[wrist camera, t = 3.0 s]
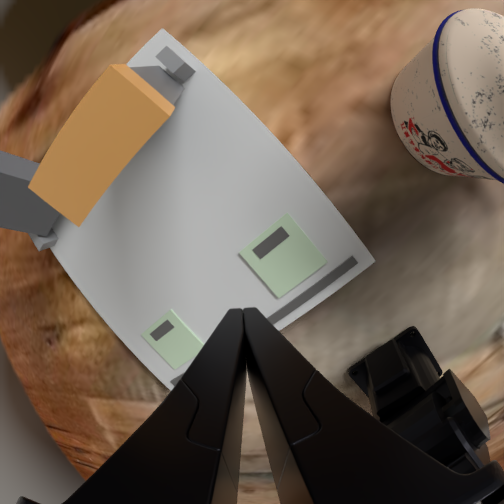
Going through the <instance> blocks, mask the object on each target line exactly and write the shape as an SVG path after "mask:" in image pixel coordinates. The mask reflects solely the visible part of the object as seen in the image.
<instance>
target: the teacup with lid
mask: <svg viewBox="0 0 504 504" xmlns="http://www.w3.org/2000/svg"><path fill="white" fill-rule="evenodd" d="M391 113H392V118H393V122H394V125H395V128H396V131H397V133H398V135H399V137H400V139H401V141H402V142H403V144H404V146H405V147H406V148H407V150H408V151H409V152H410V153H411V154H412V156H413V157H414V158H415V159H416V160H417V161H419V162H420V163H421V164H422V165H424V166H425V167H427V168H429V169H430V170H432V171H435V172H437V173H440V174H443V175H449V176H461V177H472V178H482V179H492V180H498V181H500V182H502V183H504V16H502V15H500V14H497V13H495V12H492V11H488V10H484V9H466V10H460V11H457V12H454V13H452V14H451V15H449V16H448V17H447V18H446V19H444V20H443V22H442V23H441V24H440V26H439V28H438V30H437V32H436V35H435V37H434V38H433V39H432V40H431V41H430V42H429V43H428V44H427V45H426V46H425V47H424V48H423V49H422V50H421V51H420V52H419V53H418V54H417V55H416V56H415V57H414V58H413V59H412V60H411V61H410V62H409V63H408V64H407V65H406V66H405V67H404V68H403V69H402V70H401V72H400V73H399V74H398V76H397V78H396V80H395V82H394V84H393V88H392V92H391Z"/></svg>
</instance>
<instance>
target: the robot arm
mask: <svg viewBox="0 0 504 504" xmlns="http://www.w3.org/2000/svg"><path fill="white" fill-rule="evenodd" d="M411 332H414V333H413V334H412V335H410V333H411ZM246 364H247V368H246ZM353 371H357V372H355V373H354V372H353ZM247 372H248V378H249V382H250V386H251V390H252V394H253V399H254V403H255V407H256V411H257V415H258V419H259V423H260V427H261V431H262V435H263V439H264V443H265V447H266V451H267V454H268V458H269V462H270V466H271V470H272V473H273V477H274V481H275V484H276V488H277V492H278V496H279V500H280V504H504V471H503V469H502V467H501V466H500V465H499V463H498V462H497V461H496V460H493V461H491V462H490V457H489V451H488V447H487V445H486V442H487V441H488V440H490V432H489V426H488V420H487V417H486V415H485V413H484V411H483V410H482V408H481V406H480V405H479V403H478V402H477V400H476V398H475V397H474V396H473V394H472V393H471V392H470V391H469V390H468V389H467V388H466V386H465V385H464V384H463V383H462V382H461V381H460V380H459V379H458V377H457V376H456V375H455V374H454V373H453V372H452V371H451V370H450V369H448V370H447V371H446V372H445V373H444V374H443V375H444V376H443V377H441V378H439V377H440V376H441V375H442V370H441V368H440V366H439V364H438V363H437V361H436V359H435V358H434V356H433V354H432V352H431V351H430V349H429V347H428V346H427V344H426V343H425V341H424V339H423V338H422V336H421V334H420V333H419V331H418V330H417V328H416V327H414V326H412V327H409V328H408V329H406V330H405V331H404V332H402V333H401V334H399V335H398V336H397V337H395V338H394V339H392V340H390V341H389V342H387V343H386V344H384V345H383V346H381V347H380V348H378V349H377V350H375V351H374V352H372V353H371V354H369V355H368V356H366V358H364V359H362V360H361V361H359V362H358V363H356V364H354V365H353V366H351V367H350V368H349V371H348V372H349V376H350V377H351V378H352V379H353V380H354V381H355V383H356V384H357V385H358V386H359V387H360V388H361V389H362V390H363V392H364V393H365V394H366V395H367V396H368V397H369V400H370V404H371V409H372V414H373V416H372V415H370V414H369V413H367V412H366V411H365V410H363V409H362V408H361V407H359V406H358V405H357V404H355V403H354V402H353V401H351V400H350V399H349V398H348V397H346V396H345V395H344V394H343V393H341V392H340V391H339V390H338V389H337V388H335V387H334V386H333V385H332V384H331V383H330V382H329V381H328V380H327V379H326V378H325V377H324V376H323V375H322V374H321V373H320V372H319V371H318V370H316V369H315V368H314V367H313V366H312V365H311V364H310V363H309V362H308V361H307V360H306V359H305V358H304V357H303V356H302V354H301V353H300V352H299V351H298V350H297V349H296V348H295V347H294V346H293V345H292V344H291V343H290V342H289V341H288V340H287V339H286V338H285V337H284V336H283V335H282V334H281V333H280V332H279V331H278V330H277V329H276V328H275V327H274V325H273V324H272V323H271V322H270V321H269V320H268V319H267V318H266V317H265V316H264V315H263V314H262V313H261V312H260V311H259V310H258V309H257V308H256V307H248V308H244V309H243V310H242V309H241V308H231V309H229V310H228V311H227V312H226V314H225V315H224V317H223V318H222V320H221V321H220V323H219V324H218V325H217V327H216V328H215V330H214V331H213V333H212V334H211V336H210V337H209V338H208V340H207V341H206V343H205V344H204V346H203V347H202V348H201V350H200V351H199V353H198V354H197V356H196V357H195V358H194V360H193V361H192V363H191V364H190V366H189V367H188V368H187V370H186V371H185V373H184V374H183V376H182V377H181V379H180V380H179V381H178V382H177V383H176V385H175V386H174V388H173V389H172V390H171V392H170V393H169V394H168V396H167V397H166V398H165V399H164V401H163V402H162V403H161V404H160V405H159V407H158V408H157V409H156V410H155V411H154V412H153V413H152V414H151V415H150V417H149V418H148V419H147V420H146V421H145V422H144V423H143V424H142V425H141V426H140V427H139V428H138V429H137V430H136V431H135V432H134V433H133V434H132V435H131V436H130V437H129V438H128V439H127V440H126V441H125V442H124V444H123V445H122V446H121V447H120V448H119V449H118V450H117V451H116V452H115V453H114V454H113V455H112V456H111V457H110V458H109V459H108V460H107V461H106V462H105V463H104V464H103V465H102V466H101V467H100V468H99V469H98V470H97V471H96V472H95V473H94V474H93V475H92V476H91V477H90V478H89V479H88V480H87V481H86V482H85V483H83V485H81V486H80V487H79V488H78V489H77V490H76V491H75V492H74V493H73V494H72V495H71V496H70V497H69V498H68V499H67V500H66V501H65V502H63V503H62V504H237V492H238V482H239V469H240V456H241V443H242V430H243V417H244V404H245V390H246V376H247ZM437 372H438V373H437ZM16 504H40V503H37V502H35V501H32V500H30V499H28V498H25V497H23V496H21V497H19V499H18V501H17V503H16Z"/></svg>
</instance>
